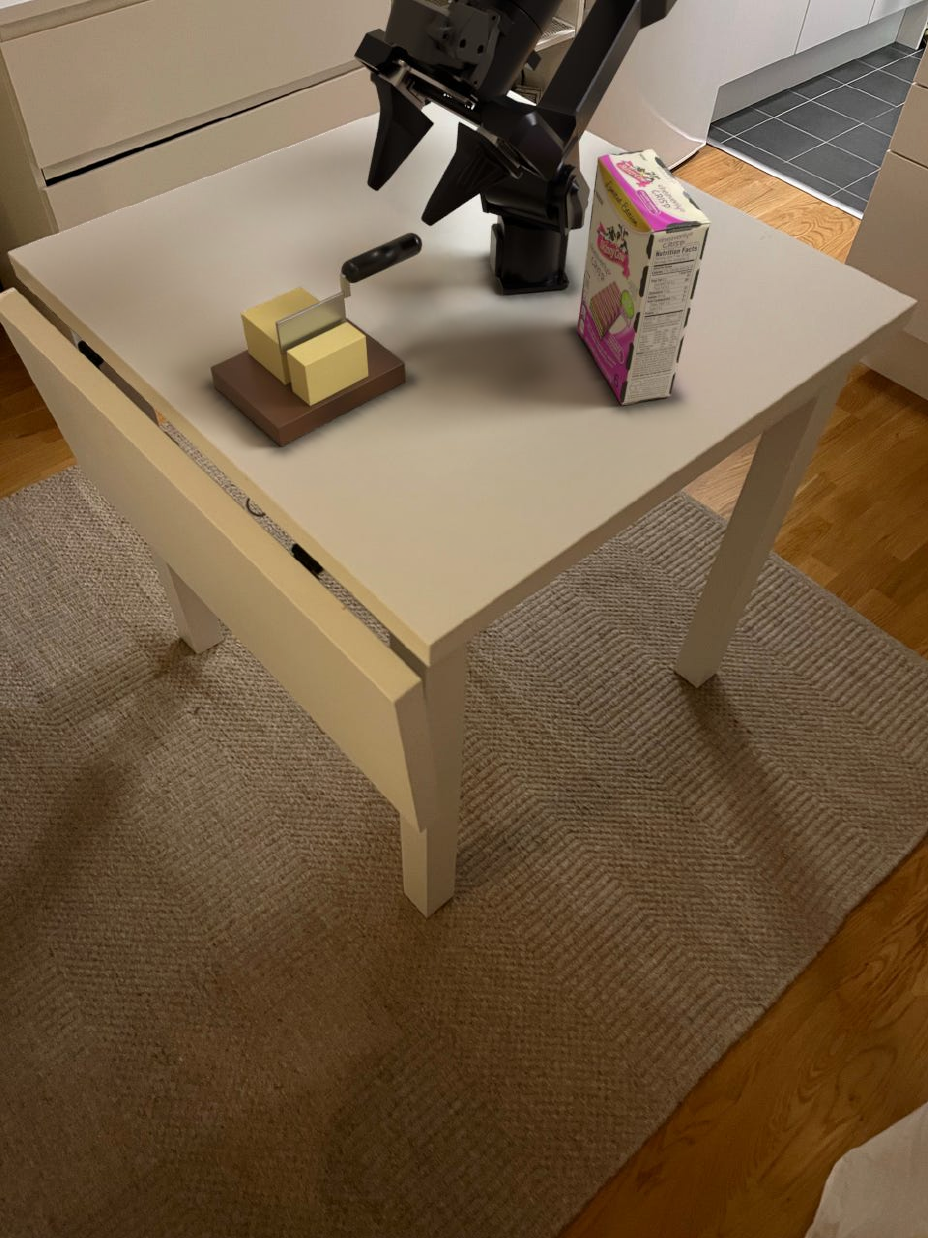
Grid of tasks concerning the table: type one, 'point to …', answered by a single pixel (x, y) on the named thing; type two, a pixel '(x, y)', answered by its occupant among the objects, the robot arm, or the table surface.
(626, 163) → the candy bar box
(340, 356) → the butter
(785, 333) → the table surface
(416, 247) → the knife
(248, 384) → the board
